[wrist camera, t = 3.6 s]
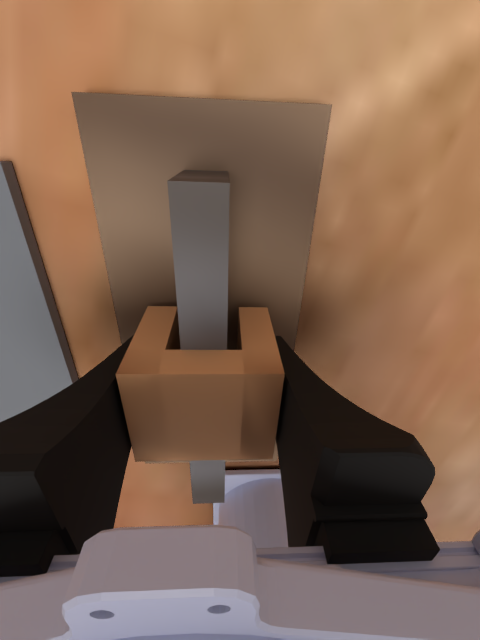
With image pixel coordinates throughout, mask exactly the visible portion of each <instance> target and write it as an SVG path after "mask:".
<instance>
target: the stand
mask: <svg viewBox="0 0 480 640" xmlns="http://www.w3.org/2000/svg"><path fill="white" fill-rule="evenodd" d="M72 97H73V102H74V107H75V112H76V118H77V123H78V128H79V133H80V138H81V143H82V148H83V153H84V158H85V163H86V168H87V173H88V178H89V183H90V188H91V193H92V198H93V203H94V208H95V213H96V218H97V223H98V228H99V233H100V238H101V243H102V248H103V253H104V258H105V263H106V268H107V273H108V278H109V283H110V288H111V293H112V298H113V303H114V308H115V313H116V318H117V323H118V328H119V333H120V338H121V343H122V344H123V343H125V342H126V341H127V340H128V339H129V338H130V337H132V336H133V335H134V334H135V332H136V330H137V328H138V326H139V324H140V322H141V320H142V317H143V315H144V313H145V311H146V309H147V307H148V306H177V309H178V322H179V335H180V347H181V350H237V337H238V310H239V307H267V308H268V312H269V315H270V319H271V323H272V327H273V331H274V335H275V336H281V337H282V338H283V339H284V340H285V341H286V343H287V344H288V345H289V346H290V347H291V349H292V350H293V351H294V347H295V341H296V335H297V328H298V322H299V315H300V309H301V302H302V296H303V289H304V283H305V276H306V270H307V264H308V257H309V251H310V244H311V238H312V231H313V225H314V218H315V212H316V205H317V199H318V193H319V186H320V180H321V173H322V167H323V160H324V154H325V147H326V141H327V134H328V128H329V122H330V115H331V109H332V105H330V104H309V103H289V102H268V101H248V100H227V99H206V98H186V97H165V96H145V95H124V94H104V93H83V92H72ZM277 457H278V450H277V444H276V439H275V446H274V453H273V459H249V460H193V461H145V463H190V473H191V485H192V498H193V504H196V503H225V462H254V461H277Z"/></svg>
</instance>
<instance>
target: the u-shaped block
mask: <svg viewBox="0 0 480 640" xmlns="http://www.w3.org/2000/svg"><path fill="white" fill-rule="evenodd" d="M284 376H285V373H284V369H283V365H282V362H281V358H280V354H279V350H278V346H277V342H276V339H275V335H274V331H273V327H272V323H271V319H270V315H269V312H268V308H267V307H239V310H238V337H237V350H181V347H180V335H179V322H178V309H177V306H148V307H147V309H146V311H145V313H144V315H143V317H142V320H141V322H140V324H139V326H138V328H137V330H136V332H135V334H134V337H133V339H132V341H131V343H130V345H129V347H128V349H127V351H126V353H125V356H124V358H123V360H122V362H121V364H120V366H119V368H118V370H117V372H116V378H117V383H118V387H119V392H120V396H121V401H122V405H123V409H124V414H125V418H126V423H127V427H128V432H129V436H130V440H131V445H132V449H133V454H134V458H135V462H137V461H193V460H249V459H273V453H274V446H275V439H276V432H277V425H278V418H279V411H280V404H281V397H282V390H283V383H284Z"/></svg>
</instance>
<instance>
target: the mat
mask: <svg viewBox="0 0 480 640" xmlns="http://www.w3.org/2000/svg"><path fill="white" fill-rule="evenodd" d="M77 380H79V379H78V376H77V372H76V369H75V366H74V363H73V359H72V356H71V353H70V350H69V347H68V343H67V340H66V337H65V334H64V330H63V327H62V324H61V321H60V317H59V314H58V311H57V308H56V305H55V301H54V298H53V295H52V292H51V288H50V285H49V282H48V279H47V275H46V272H45V269H44V266H43V263H42V259H41V256H40V253H39V250H38V246H37V243H36V240H35V237H34V233H33V230H32V227H31V224H30V220H29V217H28V214H27V211H26V208H25V204H24V201H23V198H22V195H21V191H20V188H19V185H18V182H17V178H16V175H15V172H14V169H13V166H12V162H11V161H0V422H2V421H4V420H6V419H9V418H11V417H13V416H15V415H17V414H19V413H21V412H23V411H25V410H28V409H30V408H31V407H33V406H35V405H37V404H39V403H41V402H42V401H44V400H46V399H48V398H50V397H52V396H53V395H55V394H57V393H58V392H60V391H62V390H63V389H65V388H66V387H68V386H70V385H71V384H73V383H74V382H76V381H77Z"/></svg>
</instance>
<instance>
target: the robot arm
mask: <svg viewBox="0 0 480 640" xmlns="http://www.w3.org/2000/svg"><path fill="white" fill-rule="evenodd" d="M133 337H134V335H133V336H132V337H130V338H129V339H128V340H127V341H126V342H125V343H123V344H122V345H121V346H120V347H119V348H118V349H117V350H115V351H114V352H113V353H112V354H111V355H110V356H108V357H107V358H106V359H105V360H104V361H102V362H101V363H100V364H99V365H97V366H96V367H95V368H93V369H92V370H91V371H89V372H88V373H87V374H86V375H84V376H83V377H81V378H80V379H79V380H77V381H76V382H74V383H73V384H71V385H70V386H68V387H66V388H65V389H63V390H62V391H60V392H58V393H57V394H55V395H53V396H52V397H50V398H48V399H46V400H44V401H42V402H41V403H39V404H37V405H35V406H33V407H31V408H30V409H28V410H25V411H23V412H21V413H19V414H17V415H15V416H13V417H11V418H9V419H6V420H4V421H2V422H0V640H480V530H479V531H478V532H477V533H476V534H475V535H474V537H473V539H472V541H456V542H436V541H435V539H434V537H433V535H432V533H431V531H430V529H429V527H428V526H427V524H426V522H425V520H424V519H426V518H427V517H428V516H427V512H426V510H425V508H424V507H423V505H422V503H421V500H422V499H423V497H424V495H425V494H426V492H427V490H428V489H429V487H430V485H431V484H432V481H433V479H434V476H435V467H434V465H433V464H432V462H431V461H430V459H429V457H428V456H427V454H426V452H425V451H424V449H423V448H422V446H421V445H420V443H419V442H418V441H417V439H416V438H415V437H414V435H412V434H410V433H408V432H406V431H403V430H401V429H399V428H397V427H395V426H393V425H391V424H389V423H386V422H385V421H383V420H381V419H379V418H377V417H375V416H374V415H372V414H370V413H368V412H366V411H365V410H363V409H361V408H360V407H358V406H356V405H355V404H353V403H352V402H350V401H349V400H347V399H346V398H344V397H343V396H342V395H340V394H339V393H337V392H336V391H335V390H334V389H332V388H331V387H330V386H329V385H327V384H326V383H325V382H324V381H322V380H321V379H320V378H319V377H318V376H317V375H316V374H315V373H314V372H313V371H312V370H311V369H310V368H309V367H308V366H307V365H306V364H305V363H304V362H303V361H302V360H301V359H300V358H299V357H298V356H297V354H296V353H295V352H294V351H293V350H292V349H291V347H290V346H289V345H288V344H287V343H286V341H285V340H284V339H283V338H282V337H281V336H275V339H276V342H277V346H278V350H279V354H280V358H281V362H282V365H283V369H284V373H285V376H284V383H283V390H282V397H281V404H280V411H279V418H278V425H277V432H276V444H277V450H278V457H279V465H280V469H262V470H225V503H213V525H187V526H153V527H120V528H115V529H113V528H114V523H115V518H116V512H117V507H118V502H119V497H120V493H121V488H122V484H123V479H124V474H125V470H126V466H127V462H128V457H129V453H130V450H131V446H132V445H131V440H130V436H129V432H128V427H127V423H126V418H125V414H124V409H123V405H122V401H121V396H120V392H119V387H118V383H117V378H116V372H117V370H118V368H119V366H120V364H121V362H122V360H123V358H124V356H125V353H126V351H127V349H128V347H129V345H130V343H131V341H132V339H133Z"/></svg>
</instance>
